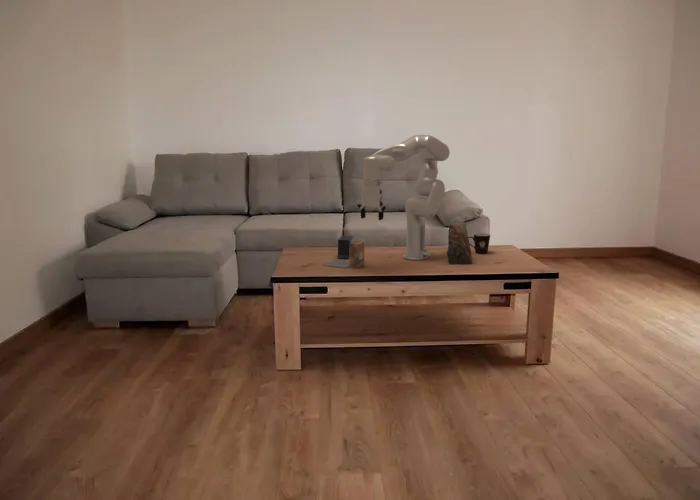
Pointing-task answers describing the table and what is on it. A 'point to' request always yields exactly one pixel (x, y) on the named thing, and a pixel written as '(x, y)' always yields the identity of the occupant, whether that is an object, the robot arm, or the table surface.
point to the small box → (344, 246)
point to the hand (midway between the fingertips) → (371, 218)
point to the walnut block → (356, 254)
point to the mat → (338, 264)
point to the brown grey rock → (458, 244)
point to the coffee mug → (481, 242)
